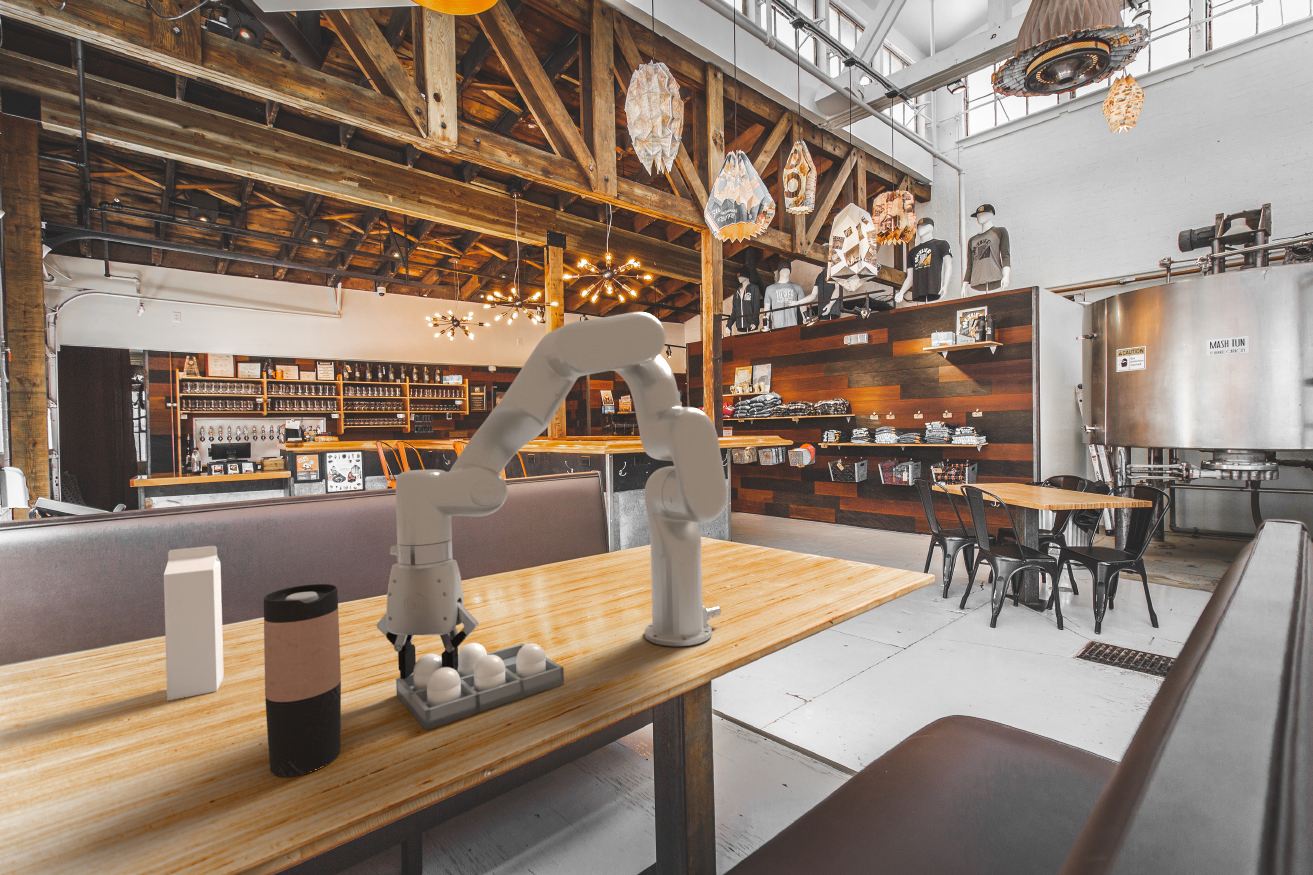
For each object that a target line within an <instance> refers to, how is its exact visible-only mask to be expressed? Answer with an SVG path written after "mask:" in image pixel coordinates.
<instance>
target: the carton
mask: <svg viewBox="0 0 1313 875" xmlns="http://www.w3.org/2000/svg"><path fill="white" fill-rule="evenodd" d="M564 669H565V668H564V667H563V666H562V665H560V664H559V663H556V662H555V661H553V660H551V658H549V657H546V653H545V650H544V648H543V647H542V646H541V645H539V644H537V643H533V642H532V643H527V644H524V643H520V644H516V645H512V646H509V647H506V648H501V649H497V650H494V651H490V652H487V650H486V648H485V647H484V646H483V645H482V644H481V643H478V642H470V643H467V644H466V645H464V646H463V647H462V648H461V649H460V651H458V669H457V670H454V669H453V668H450V667H442V668H439V669H437V670H436V671H434V672H433V673H432V674H431V676H430V677H429V679H428V682H427V688H424V689H421V690H417V691H414V682H413V673H412V674H411V675H410V676H408V677H407V678H406V679H401V678H400V676H399V677H396V678H395V681H396V682H395V683H396V688H395V689H396V696H397V697H398V698H399V700H400V701H401V702H402V703H403V705H404V706H405V707H406V708H407V710H408V711H409V712H410V713H411V714H412V716H414V718H415V719H416V720H417V721H418V722H419V724H420V725H421V726H422V727H423V728H424V730H425V731H429V730H431V729H435V728H439V727H440V726H444V725H447V724H450V723H453V722H456V721H459V720H461V719H465V718H467V717H470V716H472V715H474V716H475V715H477V714H479V713H483V712H485V711H488V710H492V709H494V708H497V707H499V706H500V707H501V706H503V705H506V704H510V703H512V702H515V701H518V700H520V699H523V698H526V697H529V696H533V695H535V694H538V693H541V692H543V691H547V690H550V689H553V688H557V687H558V686H563V685H564V684H565V674H564V671H565V670H564Z"/></svg>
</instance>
